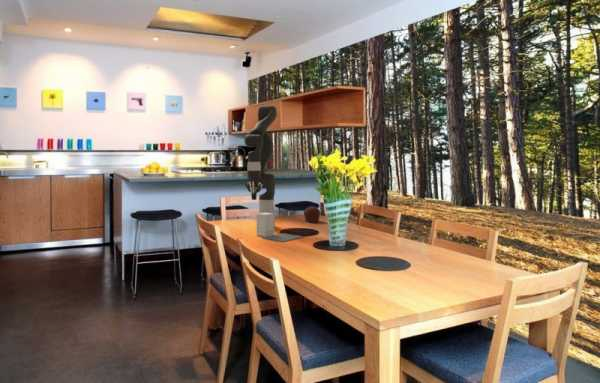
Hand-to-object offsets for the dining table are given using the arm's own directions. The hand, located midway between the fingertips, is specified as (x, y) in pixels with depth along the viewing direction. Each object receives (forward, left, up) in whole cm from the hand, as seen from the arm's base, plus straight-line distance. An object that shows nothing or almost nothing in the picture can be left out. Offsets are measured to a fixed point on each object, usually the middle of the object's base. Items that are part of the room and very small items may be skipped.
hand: (254, 199), depth 280 cm
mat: (-1, +21, -20) cm, 29 cm away
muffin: (-57, -2, -20) cm, 60 cm away
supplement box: (0, +9, -20) cm, 22 cm away
